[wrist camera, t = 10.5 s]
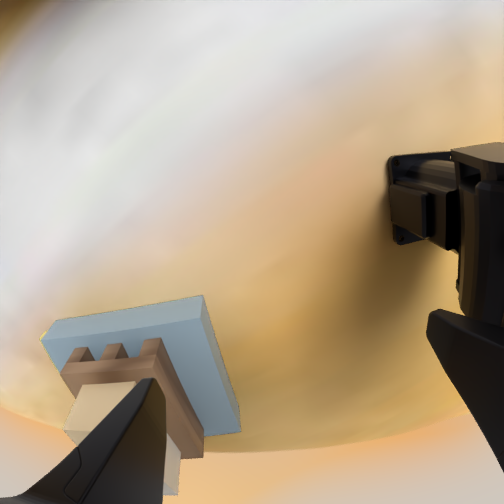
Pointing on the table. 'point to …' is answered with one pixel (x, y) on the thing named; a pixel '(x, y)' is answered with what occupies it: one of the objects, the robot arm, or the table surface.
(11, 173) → the table surface
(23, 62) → the table surface
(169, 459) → the off-white carton
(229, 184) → the table surface
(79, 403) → the tan carton
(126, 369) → the pallet
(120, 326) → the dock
